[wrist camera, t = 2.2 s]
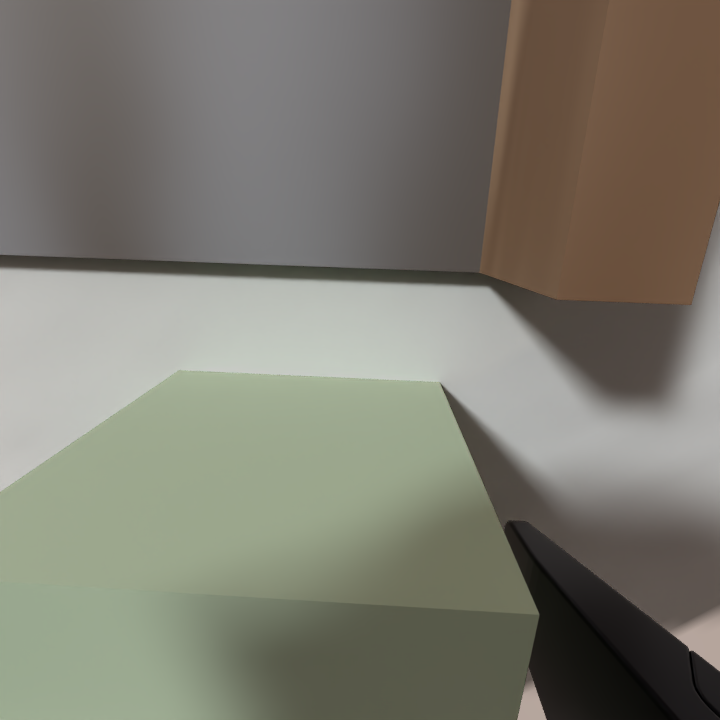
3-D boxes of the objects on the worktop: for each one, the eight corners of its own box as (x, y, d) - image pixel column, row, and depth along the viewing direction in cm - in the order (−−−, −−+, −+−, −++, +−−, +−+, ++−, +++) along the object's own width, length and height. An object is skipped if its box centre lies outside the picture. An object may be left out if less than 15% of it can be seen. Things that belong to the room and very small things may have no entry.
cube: (439, 381, 9) (548, 636, 3) (418, 588, 11) (467, 995, 5) (180, 369, 9) (-147, 591, 4) (200, 575, 11) (5, 954, 5)
